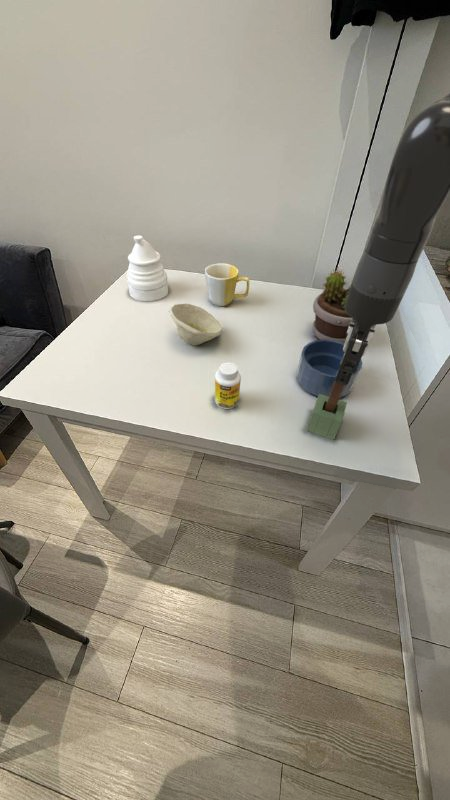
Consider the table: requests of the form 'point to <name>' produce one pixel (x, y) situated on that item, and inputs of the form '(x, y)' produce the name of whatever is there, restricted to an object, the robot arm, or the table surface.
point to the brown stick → (334, 396)
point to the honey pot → (146, 272)
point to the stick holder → (326, 418)
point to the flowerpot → (332, 310)
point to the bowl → (195, 323)
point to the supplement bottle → (227, 385)
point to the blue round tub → (322, 367)
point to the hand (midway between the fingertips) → (345, 368)
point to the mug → (223, 283)
